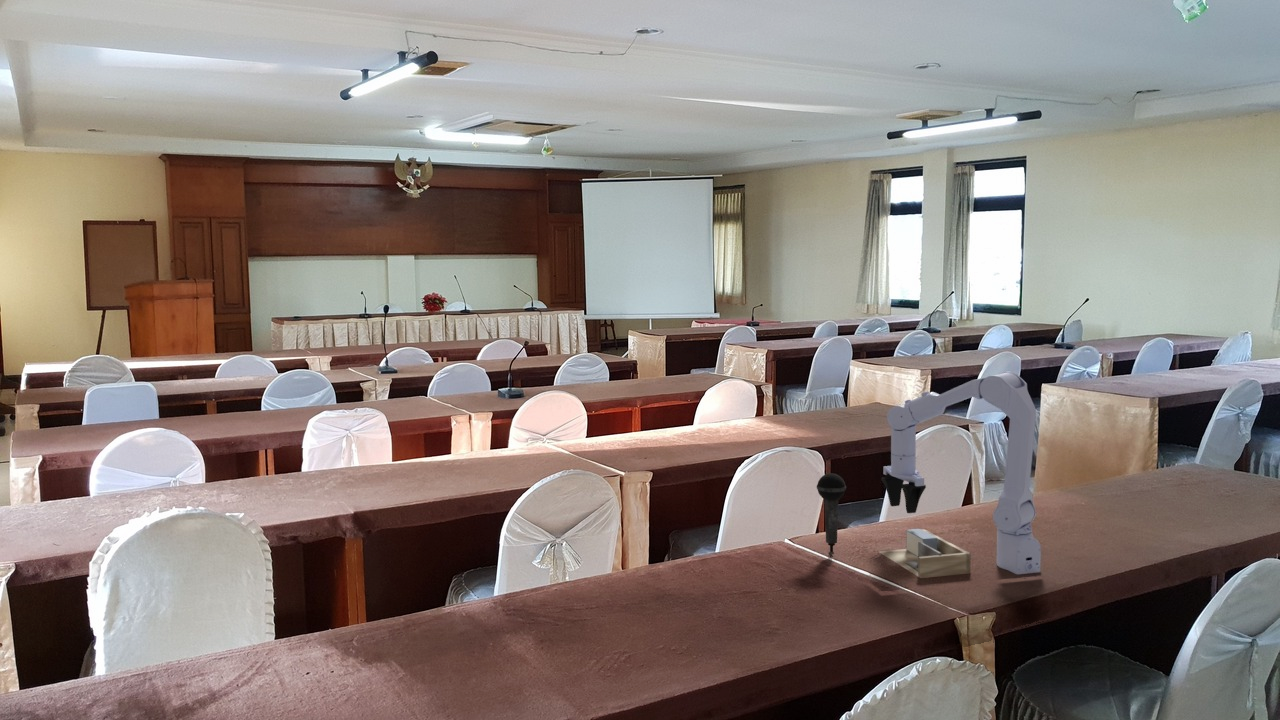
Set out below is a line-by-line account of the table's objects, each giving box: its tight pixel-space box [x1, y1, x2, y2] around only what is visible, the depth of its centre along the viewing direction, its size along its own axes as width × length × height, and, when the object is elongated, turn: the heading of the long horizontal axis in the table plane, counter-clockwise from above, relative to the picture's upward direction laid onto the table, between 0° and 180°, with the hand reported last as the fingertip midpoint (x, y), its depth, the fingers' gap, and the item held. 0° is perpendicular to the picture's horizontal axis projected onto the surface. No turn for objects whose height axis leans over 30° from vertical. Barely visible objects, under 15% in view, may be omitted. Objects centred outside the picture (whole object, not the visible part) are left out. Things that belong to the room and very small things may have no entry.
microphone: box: [816, 472, 847, 557], centre depth 223 cm, size 7×7×20 cm
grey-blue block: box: [905, 528, 937, 557], centre depth 221 cm, size 8×4×5 cm, turn 12°
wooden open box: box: [878, 529, 972, 579], centre depth 216 cm, size 20×12×6 cm, turn 12°
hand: (903, 509), depth 229 cm, fingers open, 6 cm apart
